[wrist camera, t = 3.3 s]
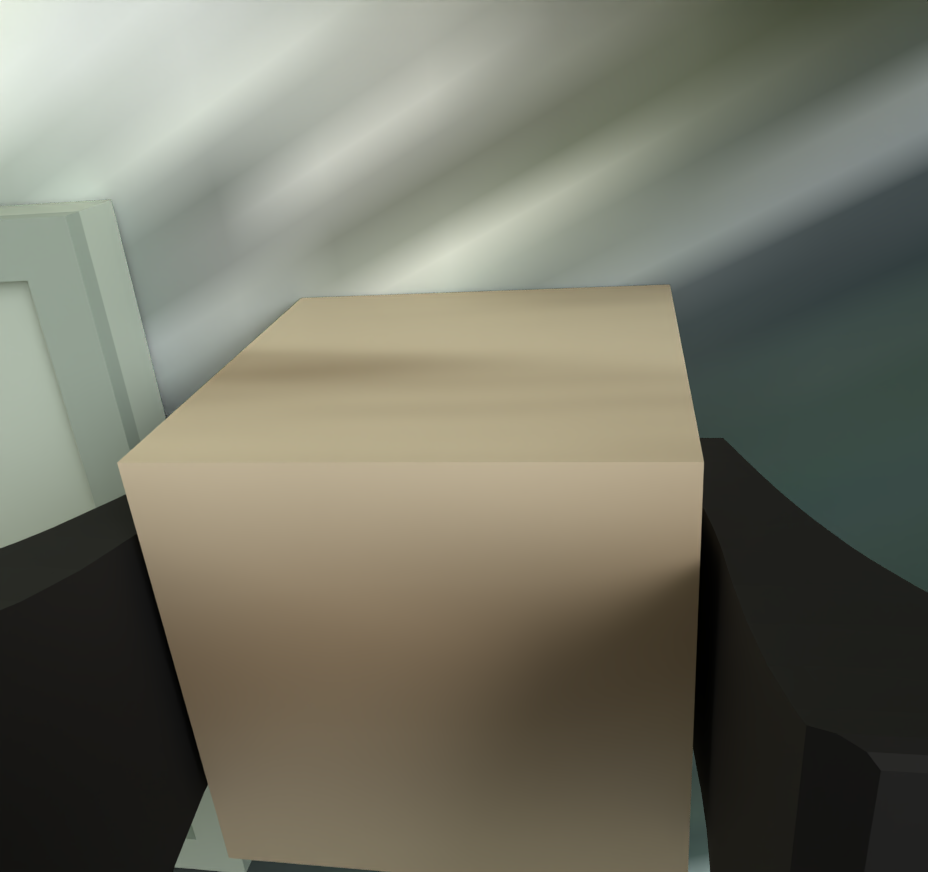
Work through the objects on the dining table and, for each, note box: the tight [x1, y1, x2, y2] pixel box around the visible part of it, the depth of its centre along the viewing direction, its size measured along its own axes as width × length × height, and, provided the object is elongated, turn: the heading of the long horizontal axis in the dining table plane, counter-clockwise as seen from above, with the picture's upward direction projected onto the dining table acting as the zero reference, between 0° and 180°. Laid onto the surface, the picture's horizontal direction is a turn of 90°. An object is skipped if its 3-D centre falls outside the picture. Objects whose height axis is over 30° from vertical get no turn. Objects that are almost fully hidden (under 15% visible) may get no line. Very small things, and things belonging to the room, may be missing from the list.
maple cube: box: [117, 285, 704, 872], centre depth 10 cm, size 5×5×5 cm
